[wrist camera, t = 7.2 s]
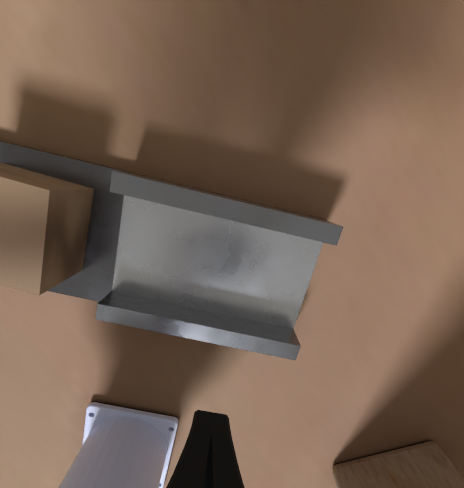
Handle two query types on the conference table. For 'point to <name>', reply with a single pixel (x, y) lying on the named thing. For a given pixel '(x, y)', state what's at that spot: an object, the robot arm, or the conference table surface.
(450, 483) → the wooden block
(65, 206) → the walnut block
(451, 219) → the conference table surface
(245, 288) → the chute
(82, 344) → the conference table surface
